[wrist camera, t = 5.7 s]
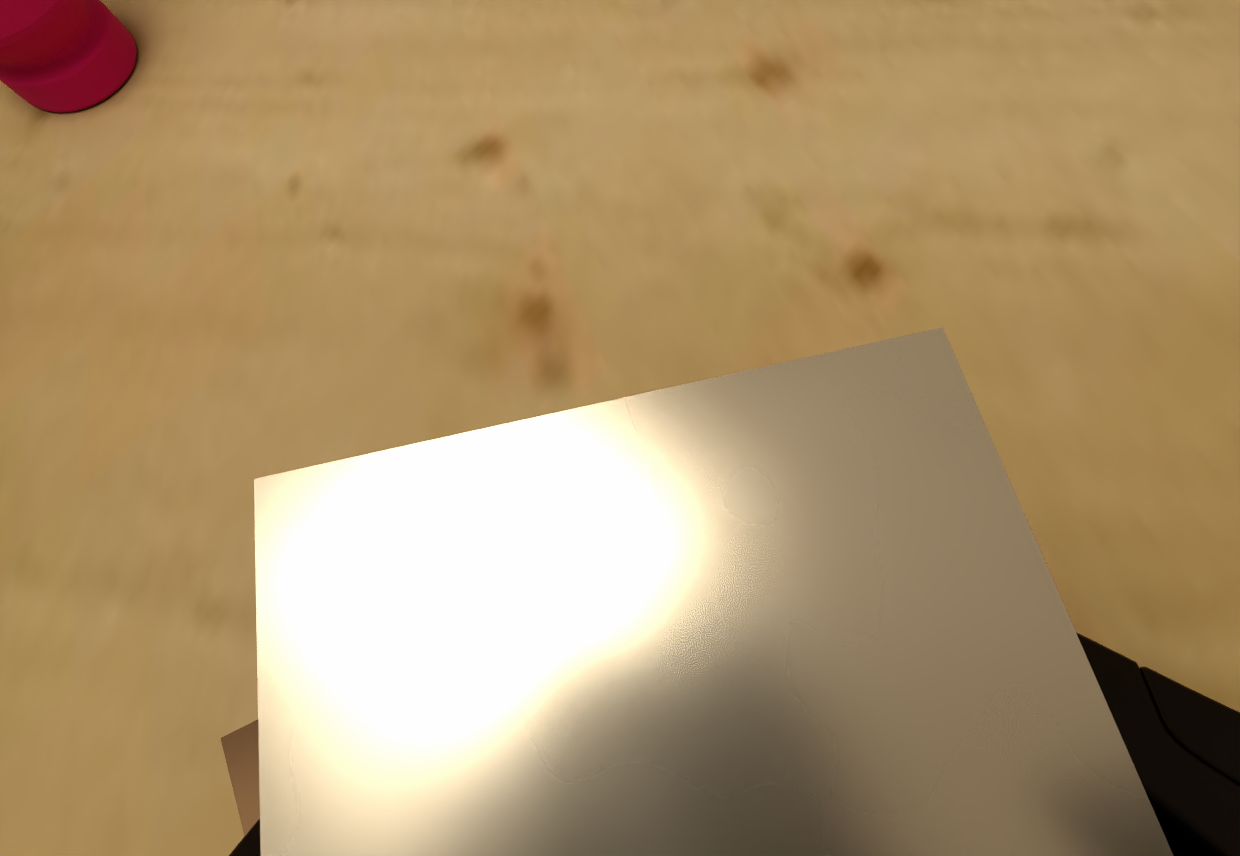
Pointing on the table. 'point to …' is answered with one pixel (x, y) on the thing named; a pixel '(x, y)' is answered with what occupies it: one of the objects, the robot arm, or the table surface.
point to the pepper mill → (63, 52)
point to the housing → (684, 635)
